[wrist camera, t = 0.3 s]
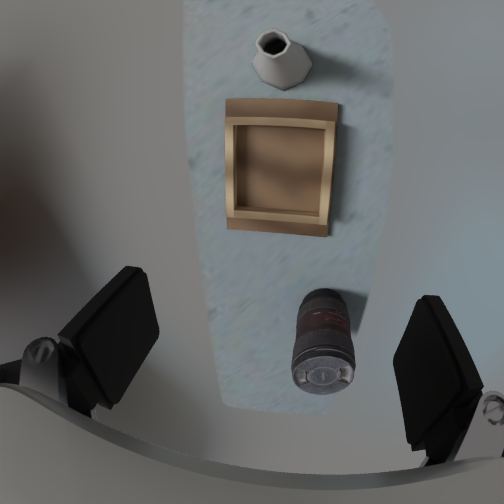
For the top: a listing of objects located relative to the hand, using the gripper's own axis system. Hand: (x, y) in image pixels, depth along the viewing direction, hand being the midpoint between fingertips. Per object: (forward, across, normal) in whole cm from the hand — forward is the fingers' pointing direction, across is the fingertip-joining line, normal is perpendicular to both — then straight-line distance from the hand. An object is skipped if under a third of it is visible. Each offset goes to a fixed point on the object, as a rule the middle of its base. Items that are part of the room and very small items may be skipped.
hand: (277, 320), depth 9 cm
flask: (+30, +2, -14) cm, 33 cm away
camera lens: (+30, -5, +21) cm, 37 cm away
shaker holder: (+29, +3, 0) cm, 29 cm away
